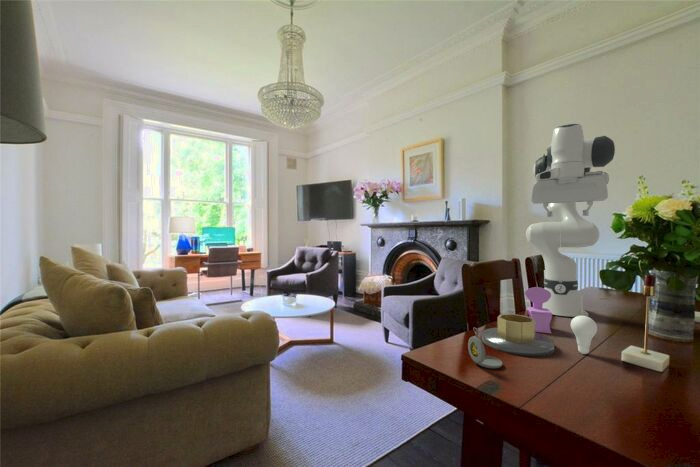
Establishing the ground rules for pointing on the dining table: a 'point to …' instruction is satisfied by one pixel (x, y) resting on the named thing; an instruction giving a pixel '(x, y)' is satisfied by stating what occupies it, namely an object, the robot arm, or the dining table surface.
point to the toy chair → (539, 308)
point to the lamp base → (517, 337)
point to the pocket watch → (481, 353)
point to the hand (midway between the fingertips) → (567, 216)
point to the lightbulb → (583, 332)
